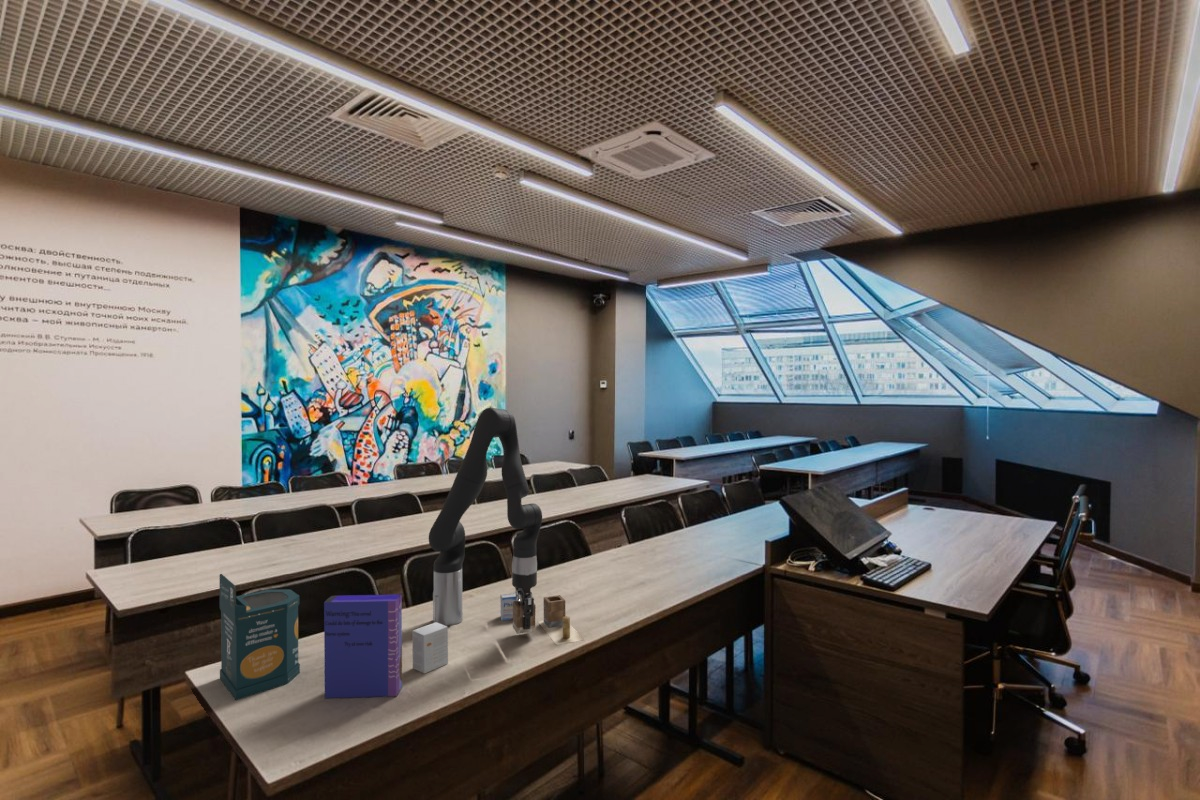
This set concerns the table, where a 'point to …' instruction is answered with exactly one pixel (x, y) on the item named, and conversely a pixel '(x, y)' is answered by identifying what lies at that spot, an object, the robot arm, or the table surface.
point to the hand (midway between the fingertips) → (523, 624)
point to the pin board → (562, 632)
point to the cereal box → (363, 646)
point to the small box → (430, 647)
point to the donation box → (257, 639)
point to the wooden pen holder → (554, 611)
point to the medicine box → (507, 606)
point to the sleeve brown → (519, 619)
